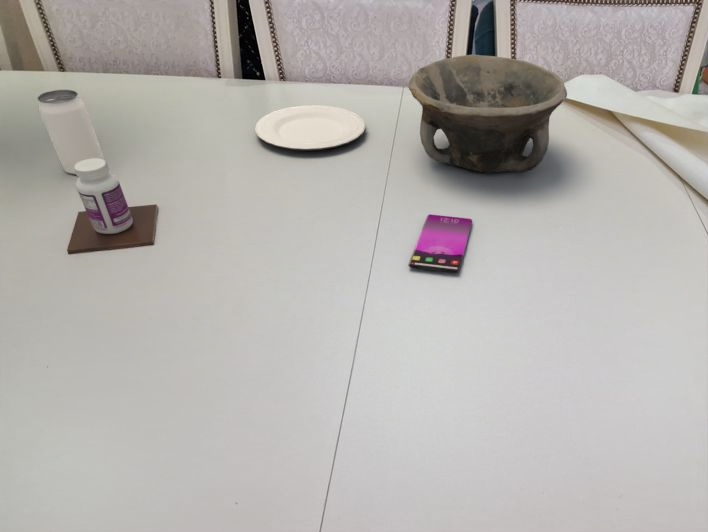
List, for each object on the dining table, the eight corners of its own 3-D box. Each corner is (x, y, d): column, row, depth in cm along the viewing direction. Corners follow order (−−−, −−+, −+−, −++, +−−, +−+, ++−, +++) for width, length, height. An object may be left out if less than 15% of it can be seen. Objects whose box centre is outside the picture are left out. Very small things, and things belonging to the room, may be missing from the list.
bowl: (407, 194, 103) (405, 104, 93) (412, 130, 123) (411, 50, 113) (564, 198, 105) (579, 110, 95) (544, 135, 125) (555, 56, 115)
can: (66, 161, 106) (36, 90, 98) (107, 157, 108) (82, 87, 100) (62, 178, 102) (31, 105, 94) (105, 173, 103) (79, 101, 95)
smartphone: (407, 269, 87) (407, 264, 86) (427, 217, 98) (427, 212, 97) (458, 276, 86) (458, 270, 85) (472, 222, 97) (472, 217, 97)
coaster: (68, 254, 86) (66, 250, 85) (79, 215, 93) (78, 211, 93) (153, 244, 88) (152, 241, 88) (157, 207, 96) (156, 204, 96)
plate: (347, 163, 111) (347, 153, 109) (237, 150, 112) (235, 140, 111) (378, 120, 126) (377, 110, 125) (280, 109, 128) (279, 100, 127)
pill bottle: (131, 214, 93) (110, 153, 87) (135, 230, 90) (113, 168, 83) (92, 221, 91) (67, 159, 85) (94, 238, 88) (69, 175, 81)
